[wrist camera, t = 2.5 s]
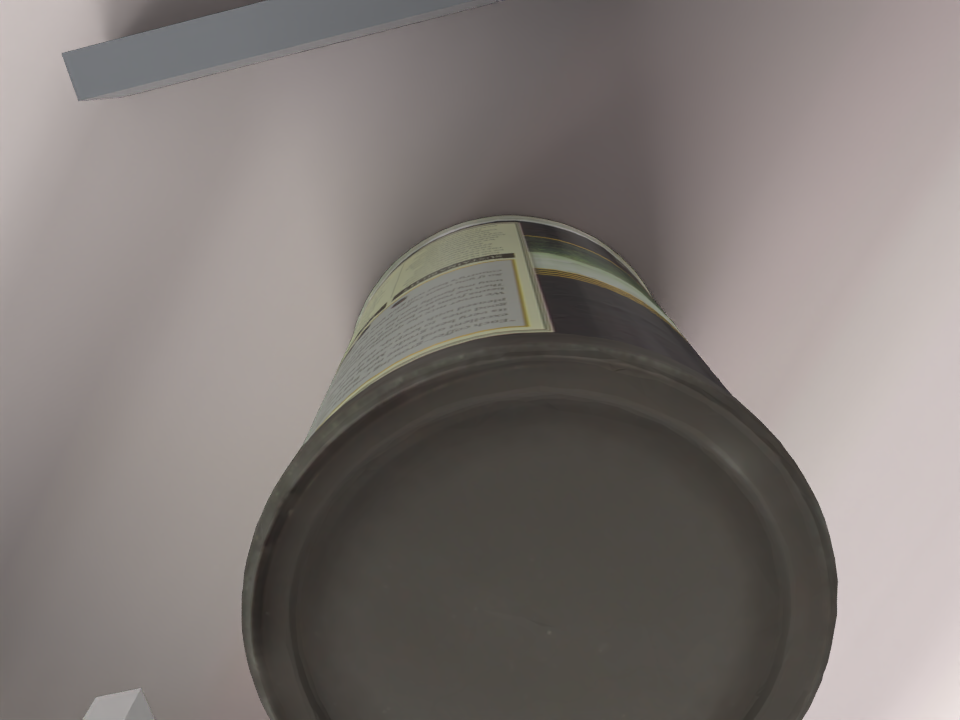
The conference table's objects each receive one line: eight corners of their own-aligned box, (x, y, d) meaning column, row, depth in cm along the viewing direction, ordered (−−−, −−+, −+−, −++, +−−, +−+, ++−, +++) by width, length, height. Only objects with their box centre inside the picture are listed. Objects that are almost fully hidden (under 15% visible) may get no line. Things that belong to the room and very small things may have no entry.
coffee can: (685, 217, 28) (891, 358, 14) (652, 523, 31) (793, 874, 17) (345, 203, 27) (226, 332, 14) (346, 512, 31) (248, 861, 17)
